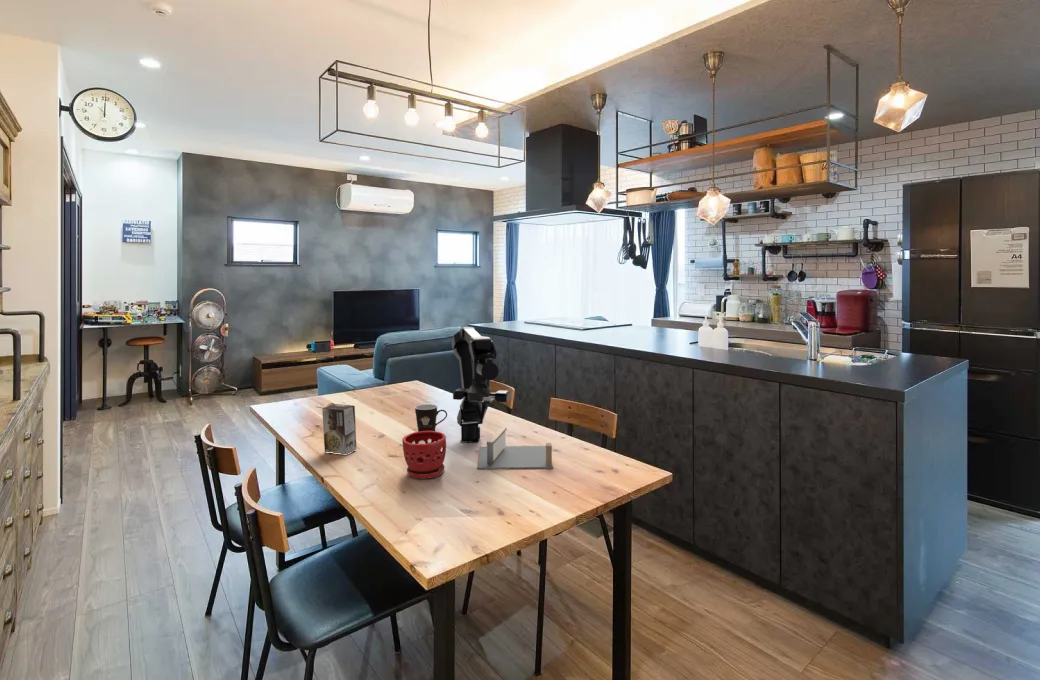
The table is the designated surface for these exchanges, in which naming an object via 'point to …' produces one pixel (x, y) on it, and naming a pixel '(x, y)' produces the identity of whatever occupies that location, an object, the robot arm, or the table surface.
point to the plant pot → (424, 454)
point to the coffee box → (339, 428)
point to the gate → (496, 445)
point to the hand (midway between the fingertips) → (481, 419)
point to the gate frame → (518, 457)
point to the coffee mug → (427, 417)
